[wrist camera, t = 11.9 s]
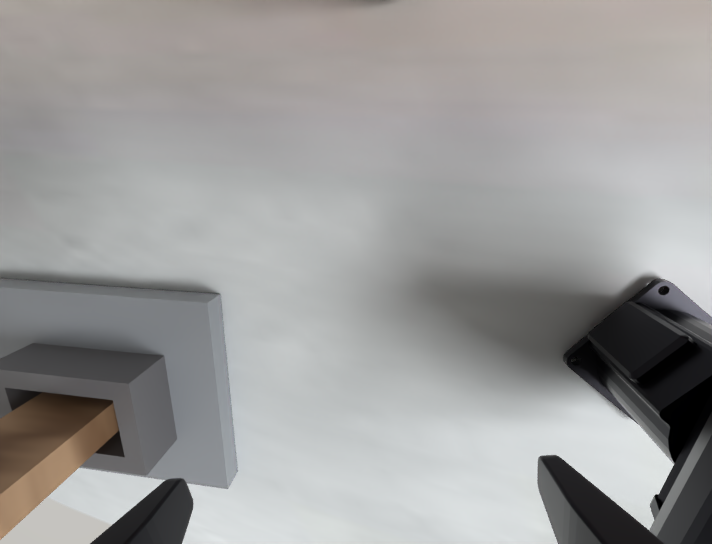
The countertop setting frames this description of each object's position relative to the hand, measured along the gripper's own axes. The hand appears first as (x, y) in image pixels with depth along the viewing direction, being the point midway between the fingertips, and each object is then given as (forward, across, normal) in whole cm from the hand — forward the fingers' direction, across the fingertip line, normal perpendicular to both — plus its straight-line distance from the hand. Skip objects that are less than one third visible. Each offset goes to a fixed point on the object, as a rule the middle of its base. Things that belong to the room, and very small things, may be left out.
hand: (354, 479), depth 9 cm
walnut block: (+12, +18, +5) cm, 23 cm away
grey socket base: (+14, +18, +5) cm, 23 cm away
